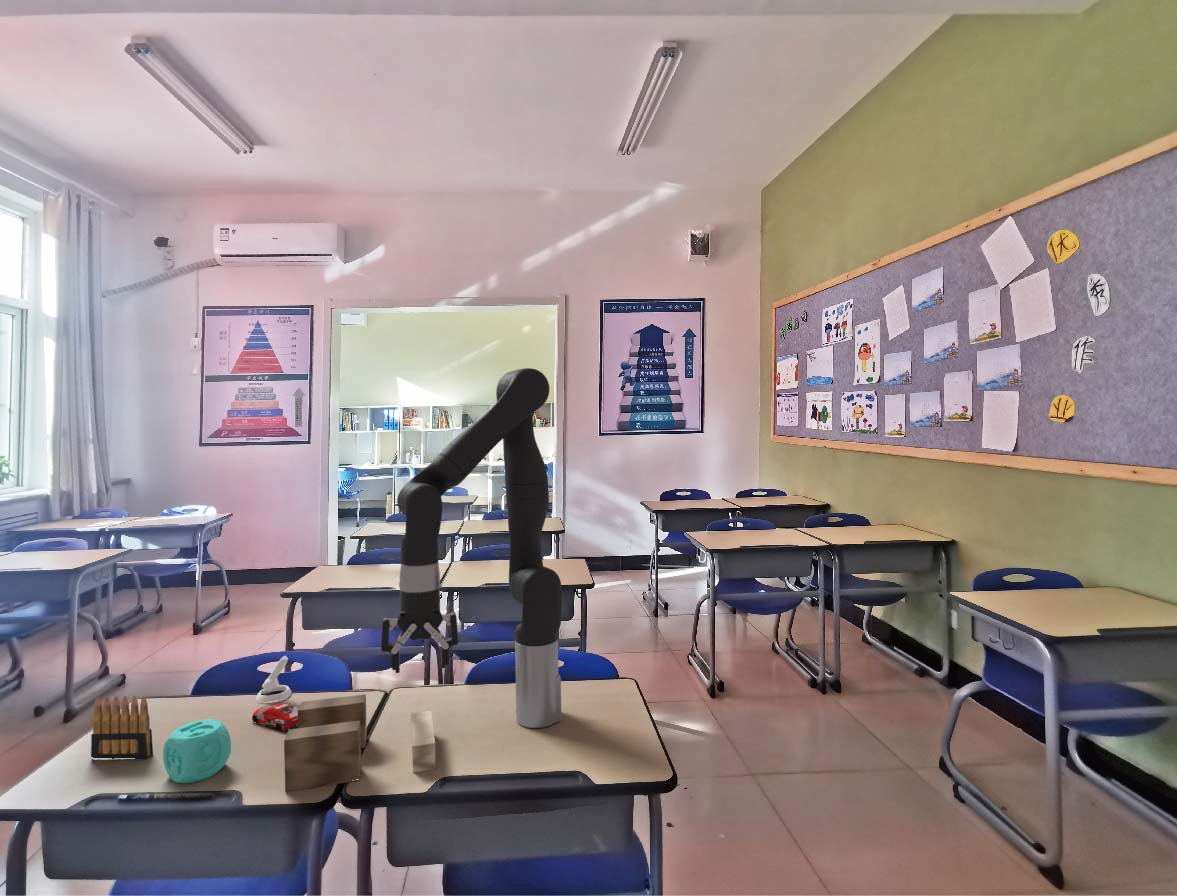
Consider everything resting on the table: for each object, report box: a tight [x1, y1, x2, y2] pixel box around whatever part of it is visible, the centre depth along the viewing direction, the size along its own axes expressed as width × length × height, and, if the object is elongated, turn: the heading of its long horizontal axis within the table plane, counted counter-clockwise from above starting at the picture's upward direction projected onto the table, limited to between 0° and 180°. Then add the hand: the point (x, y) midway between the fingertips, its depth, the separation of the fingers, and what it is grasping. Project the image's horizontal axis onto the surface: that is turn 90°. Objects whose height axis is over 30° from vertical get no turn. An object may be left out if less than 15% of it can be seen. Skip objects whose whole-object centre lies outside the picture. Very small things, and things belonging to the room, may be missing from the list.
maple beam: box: [410, 710, 437, 773], centre depth 118 cm, size 4×14×5 cm, turn 17°
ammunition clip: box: [90, 695, 154, 760], centre depth 117 cm, size 11×2×12 cm, turn 91°
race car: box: [251, 702, 299, 732], centre depth 131 cm, size 13×5×4 cm, turn 61°
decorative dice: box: [162, 718, 232, 784], centre depth 112 cm, size 8×8×8 cm
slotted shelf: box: [283, 694, 368, 793], centre depth 114 cm, size 12×16×9 cm
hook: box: [255, 655, 293, 702], centre depth 144 cm, size 8×12×7 cm
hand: (420, 669), depth 117 cm, fingers open, 8 cm apart
